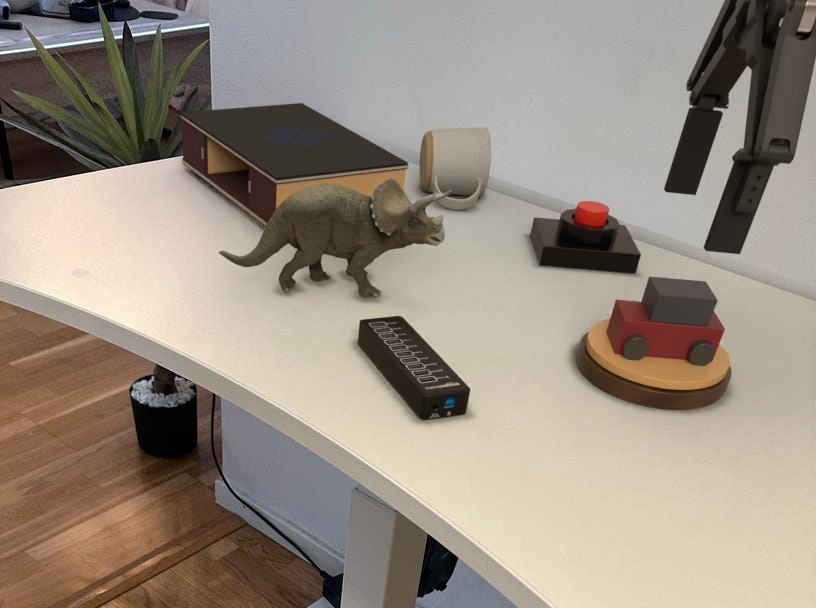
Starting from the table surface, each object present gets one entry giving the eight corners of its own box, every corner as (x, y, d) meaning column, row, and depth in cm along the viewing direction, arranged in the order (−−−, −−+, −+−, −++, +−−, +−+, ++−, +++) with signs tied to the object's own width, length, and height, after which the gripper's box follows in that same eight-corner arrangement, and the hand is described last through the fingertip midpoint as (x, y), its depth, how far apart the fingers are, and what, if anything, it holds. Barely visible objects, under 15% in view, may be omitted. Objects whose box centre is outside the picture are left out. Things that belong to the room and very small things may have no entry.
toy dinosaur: (217, 295, 91) (215, 174, 83) (225, 261, 97) (224, 146, 89) (436, 311, 92) (454, 194, 84) (430, 277, 98) (447, 165, 90)
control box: (620, 244, 109) (630, 209, 106) (635, 274, 103) (646, 238, 100) (529, 236, 109) (537, 200, 106) (539, 265, 102) (547, 229, 100)
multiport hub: (398, 337, 87) (401, 314, 85) (467, 414, 77) (472, 389, 76) (355, 342, 85) (358, 319, 84) (421, 421, 76) (425, 396, 74)
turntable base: (703, 343, 91) (709, 329, 90) (744, 415, 81) (751, 400, 80) (565, 331, 90) (569, 317, 89) (589, 402, 80) (593, 387, 79)
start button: (602, 218, 105) (606, 202, 103) (607, 229, 102) (612, 213, 101) (571, 215, 104) (575, 199, 103) (576, 226, 102) (580, 210, 101)
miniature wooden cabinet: (274, 241, 102) (276, 177, 97) (181, 170, 116) (179, 112, 112) (401, 222, 109) (408, 162, 104) (299, 157, 124) (301, 102, 119)
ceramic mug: (414, 181, 120) (422, 116, 115) (474, 183, 121) (485, 120, 115) (426, 211, 113) (435, 144, 107) (490, 214, 113) (503, 147, 108)
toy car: (706, 329, 89) (730, 264, 85) (744, 395, 80) (774, 326, 76) (575, 318, 89) (593, 252, 85) (598, 383, 80) (620, 313, 75)
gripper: (708, -129, 70) (625, 167, 85) (823, -93, 52) (692, 275, 67) (803, -118, 70) (704, 175, 85) (950, -79, 52) (792, 285, 67)
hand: (699, 220), depth 76 cm, fingers open, 13 cm apart
